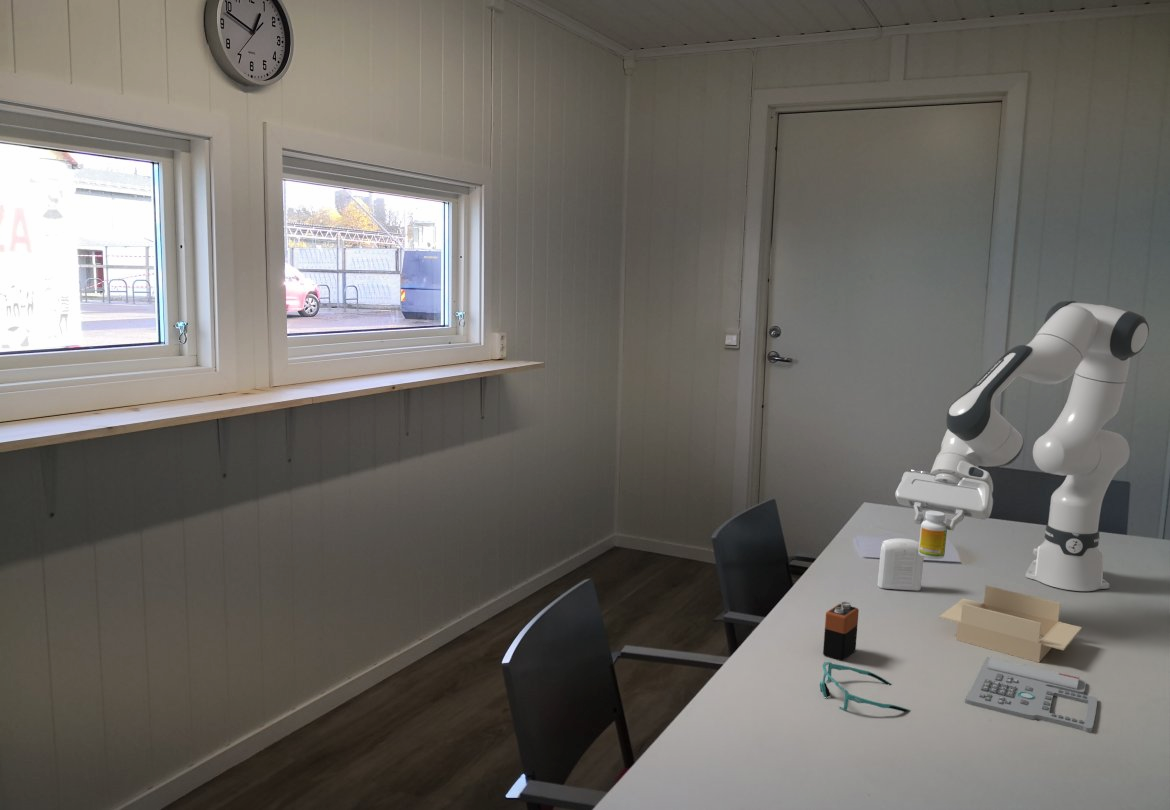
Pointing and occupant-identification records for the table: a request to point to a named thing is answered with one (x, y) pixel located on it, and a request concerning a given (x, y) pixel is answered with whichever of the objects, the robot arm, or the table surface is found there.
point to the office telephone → (1029, 692)
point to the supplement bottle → (933, 535)
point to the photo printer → (900, 565)
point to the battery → (840, 631)
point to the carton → (1011, 624)
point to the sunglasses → (847, 696)
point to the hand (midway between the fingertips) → (933, 525)
